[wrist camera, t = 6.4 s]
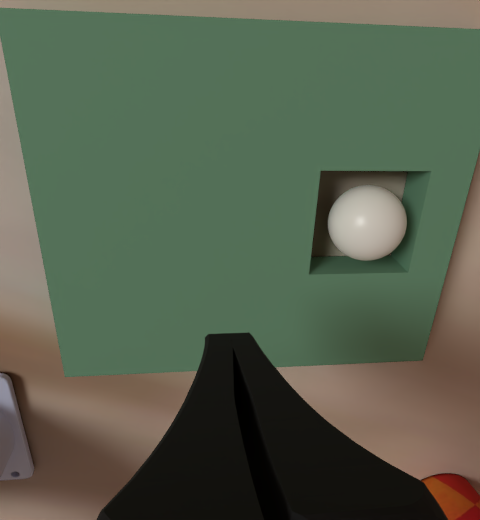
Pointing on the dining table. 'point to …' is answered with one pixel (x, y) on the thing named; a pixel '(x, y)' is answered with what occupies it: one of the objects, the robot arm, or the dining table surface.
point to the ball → (367, 222)
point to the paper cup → (454, 496)
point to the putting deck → (235, 180)
